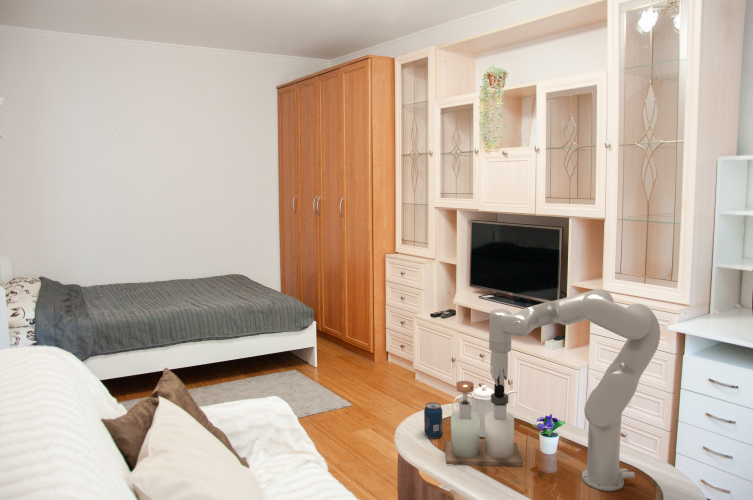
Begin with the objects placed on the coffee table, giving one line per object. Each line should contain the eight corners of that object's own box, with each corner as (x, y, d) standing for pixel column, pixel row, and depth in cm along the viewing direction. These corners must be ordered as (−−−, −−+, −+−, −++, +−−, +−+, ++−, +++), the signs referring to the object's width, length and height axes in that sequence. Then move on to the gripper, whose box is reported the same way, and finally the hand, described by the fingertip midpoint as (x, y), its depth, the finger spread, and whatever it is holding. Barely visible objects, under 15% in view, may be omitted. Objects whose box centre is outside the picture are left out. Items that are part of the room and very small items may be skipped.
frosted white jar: (511, 445, 202) (511, 397, 200) (515, 459, 192) (516, 409, 190) (483, 444, 203) (483, 397, 201) (486, 458, 193) (486, 409, 191)
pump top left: (506, 413, 199) (507, 392, 198) (509, 420, 193) (509, 399, 192) (489, 413, 199) (489, 392, 198) (491, 420, 193) (492, 399, 192)
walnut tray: (516, 446, 204) (516, 442, 204) (522, 466, 191) (522, 462, 190) (444, 445, 207) (444, 441, 206) (446, 464, 193) (446, 460, 193)
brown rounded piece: (472, 401, 199) (472, 380, 198) (474, 408, 193) (474, 387, 192) (456, 401, 200) (455, 380, 199) (457, 408, 194) (456, 387, 193)
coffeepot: (520, 439, 209) (520, 391, 207) (453, 438, 212) (452, 390, 209) (515, 426, 220) (516, 381, 218) (452, 425, 223) (451, 380, 220)
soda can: (422, 431, 218) (422, 402, 216) (439, 430, 219) (439, 400, 217) (427, 440, 211) (427, 409, 209) (444, 438, 212) (444, 408, 210)
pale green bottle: (477, 444, 203) (478, 397, 201) (480, 458, 194) (480, 409, 191) (450, 444, 204) (450, 397, 202) (451, 457, 194) (451, 408, 192)
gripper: (486, 338, 200) (485, 387, 203) (491, 352, 185) (490, 404, 188) (507, 339, 200) (506, 387, 202) (514, 352, 185) (513, 405, 187)
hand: (499, 395), depth 195 cm, fingers closed
